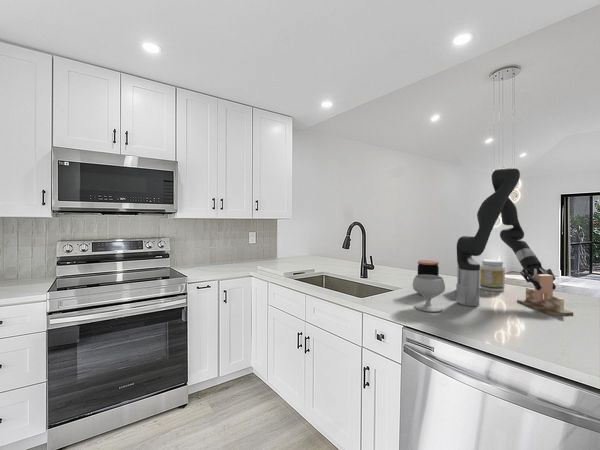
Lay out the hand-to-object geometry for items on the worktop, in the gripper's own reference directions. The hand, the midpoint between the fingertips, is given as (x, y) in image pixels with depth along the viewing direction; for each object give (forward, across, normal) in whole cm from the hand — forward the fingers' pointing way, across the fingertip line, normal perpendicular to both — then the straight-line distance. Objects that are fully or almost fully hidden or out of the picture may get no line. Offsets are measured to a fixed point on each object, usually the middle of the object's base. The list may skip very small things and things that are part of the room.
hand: (546, 289), depth 139 cm
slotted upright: (+3, 0, +5) cm, 6 cm away
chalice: (+5, -54, +8) cm, 55 cm away
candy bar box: (-15, -21, +29) cm, 39 cm away
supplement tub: (-19, -1, +33) cm, 38 cm away
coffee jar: (-13, -43, +26) cm, 52 cm away
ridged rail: (+6, 0, +8) cm, 10 cm away
